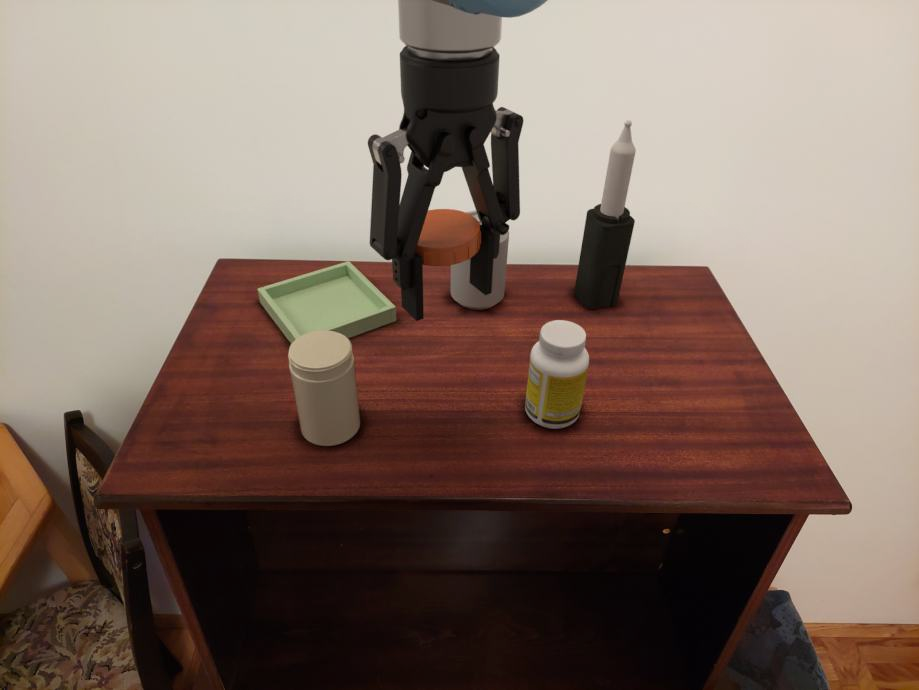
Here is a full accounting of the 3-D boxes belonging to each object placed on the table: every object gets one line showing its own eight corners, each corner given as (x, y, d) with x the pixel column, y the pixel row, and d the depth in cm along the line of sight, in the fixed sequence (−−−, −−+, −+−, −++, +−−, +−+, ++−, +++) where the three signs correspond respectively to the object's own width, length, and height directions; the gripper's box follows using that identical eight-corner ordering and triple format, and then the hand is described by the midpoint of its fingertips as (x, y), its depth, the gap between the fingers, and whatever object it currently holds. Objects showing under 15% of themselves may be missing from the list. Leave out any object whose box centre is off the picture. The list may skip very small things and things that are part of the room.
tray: (300, 355, 79) (297, 341, 78) (260, 302, 88) (257, 288, 86) (396, 320, 85) (395, 306, 84) (350, 274, 94) (348, 260, 92)
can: (449, 312, 87) (450, 232, 79) (451, 282, 93) (452, 205, 85) (504, 314, 87) (511, 235, 79) (503, 283, 93) (509, 207, 85)
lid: (495, 238, 60) (495, 220, 59) (451, 275, 56) (450, 256, 55) (432, 219, 64) (431, 202, 62) (386, 252, 59) (384, 234, 58)
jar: (327, 455, 66) (316, 378, 60) (288, 426, 70) (272, 350, 63) (372, 422, 70) (366, 346, 64) (333, 396, 73) (323, 321, 67)
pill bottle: (588, 406, 73) (604, 328, 66) (563, 439, 69) (577, 360, 62) (540, 385, 76) (551, 308, 69) (513, 415, 72) (522, 337, 65)
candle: (603, 286, 93) (636, 111, 77) (620, 305, 89) (659, 125, 74) (571, 291, 92) (598, 114, 76) (587, 311, 88) (620, 129, 72)
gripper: (523, 21, 55) (506, 254, 69) (303, 52, 46) (335, 313, 60) (583, 40, 50) (551, 287, 64) (351, 79, 41) (374, 356, 55)
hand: (447, 299), depth 62 cm, fingers closed on lid, 7 cm apart
